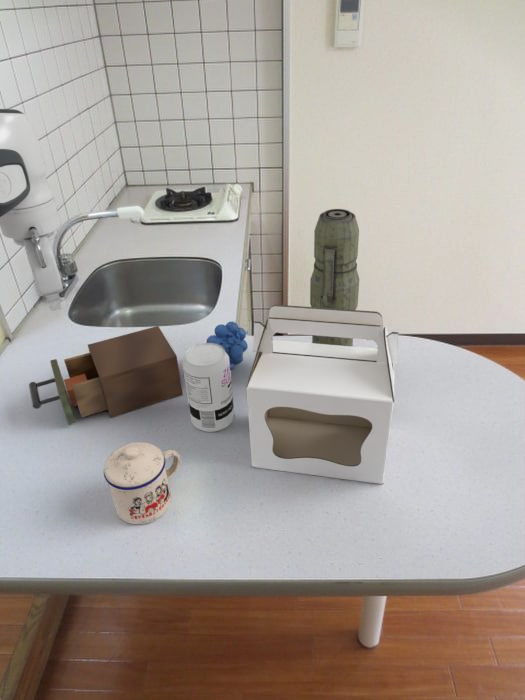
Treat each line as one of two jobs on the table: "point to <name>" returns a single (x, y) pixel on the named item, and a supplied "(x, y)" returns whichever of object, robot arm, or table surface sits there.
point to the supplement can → (208, 386)
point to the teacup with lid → (140, 481)
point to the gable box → (322, 394)
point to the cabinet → (136, 370)
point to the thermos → (335, 267)
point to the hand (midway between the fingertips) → (52, 296)
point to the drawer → (74, 387)
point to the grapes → (230, 341)
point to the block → (72, 381)
